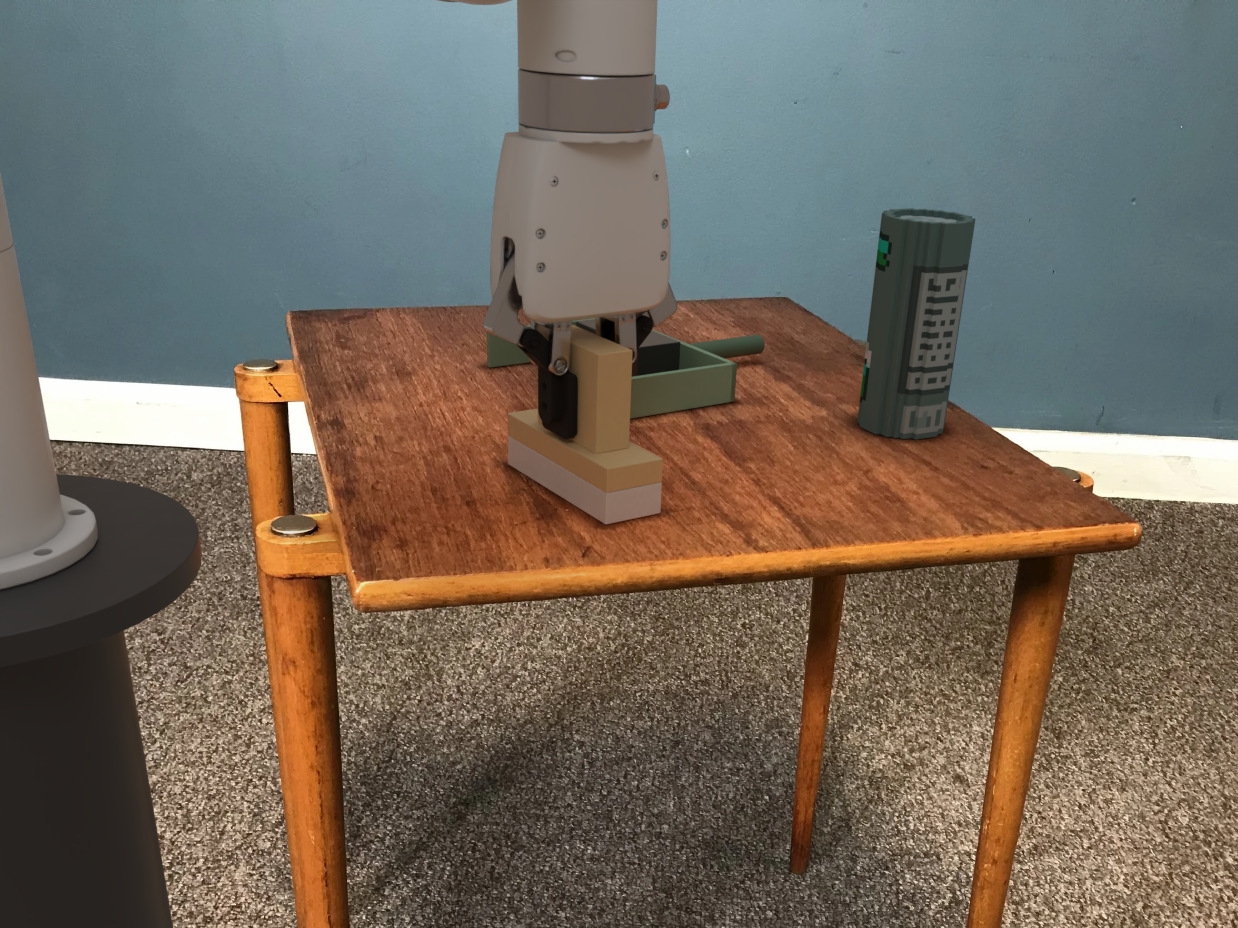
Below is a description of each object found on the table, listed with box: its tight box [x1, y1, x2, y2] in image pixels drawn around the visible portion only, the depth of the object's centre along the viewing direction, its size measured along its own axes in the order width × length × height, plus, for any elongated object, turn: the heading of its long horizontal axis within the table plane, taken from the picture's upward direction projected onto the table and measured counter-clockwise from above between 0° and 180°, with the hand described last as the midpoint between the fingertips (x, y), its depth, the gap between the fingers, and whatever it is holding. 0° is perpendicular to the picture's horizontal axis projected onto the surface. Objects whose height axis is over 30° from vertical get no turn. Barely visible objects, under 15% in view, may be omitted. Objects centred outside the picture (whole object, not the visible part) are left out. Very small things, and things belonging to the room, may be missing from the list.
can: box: [856, 207, 976, 440], centre depth 93 cm, size 6×6×15 cm
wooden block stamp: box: [507, 325, 664, 525], centre depth 80 cm, size 4×12×10 cm, turn 35°
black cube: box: [632, 331, 681, 377], centre depth 101 cm, size 4×4×4 cm
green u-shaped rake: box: [486, 318, 766, 420], centre depth 105 cm, size 22×17×3 cm
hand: (582, 426), depth 81 cm, fingers closed
